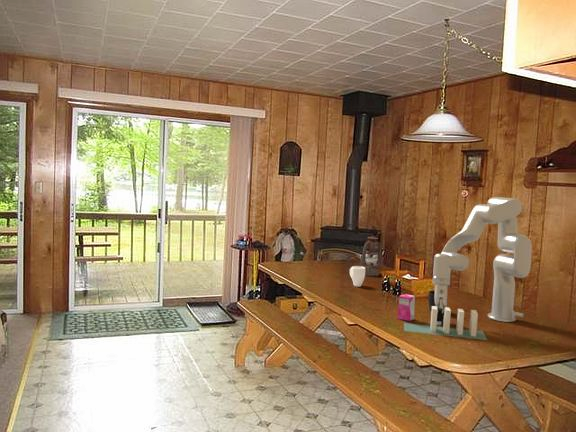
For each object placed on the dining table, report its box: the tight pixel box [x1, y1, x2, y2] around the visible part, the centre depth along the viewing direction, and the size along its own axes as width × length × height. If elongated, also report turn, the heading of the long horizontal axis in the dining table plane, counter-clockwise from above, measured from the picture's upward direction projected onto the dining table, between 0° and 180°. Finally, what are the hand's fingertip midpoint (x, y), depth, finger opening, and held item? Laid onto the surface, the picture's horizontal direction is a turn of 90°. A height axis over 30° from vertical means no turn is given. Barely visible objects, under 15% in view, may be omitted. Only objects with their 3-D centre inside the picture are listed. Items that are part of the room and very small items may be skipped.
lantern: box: [360, 223, 382, 277], centre depth 335 cm, size 11×16×35 cm
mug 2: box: [349, 265, 366, 288], centre depth 300 cm, size 12×8×11 cm
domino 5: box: [468, 309, 479, 336], centre depth 212 cm, size 2×6×10 cm, turn 167°
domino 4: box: [455, 308, 465, 335], centre depth 213 cm, size 2×6×10 cm, turn 167°
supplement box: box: [397, 293, 416, 323], centre depth 231 cm, size 6×6×12 cm
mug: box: [427, 290, 445, 312], centre depth 247 cm, size 8×12×10 cm
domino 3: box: [442, 306, 452, 334], centre depth 214 cm, size 2×6×10 cm, turn 167°
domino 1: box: [429, 306, 437, 332], centre depth 215 cm, size 2×6×10 cm, turn 167°
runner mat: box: [403, 322, 488, 341], centre depth 215 cm, size 34×12×1 cm, turn 77°
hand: (438, 318), depth 227 cm, fingers closed on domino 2, 5 cm apart
